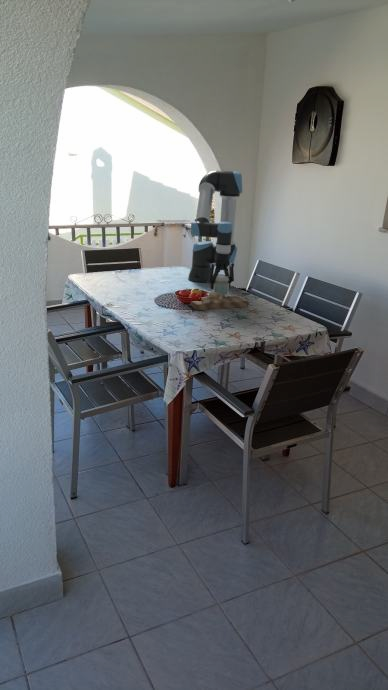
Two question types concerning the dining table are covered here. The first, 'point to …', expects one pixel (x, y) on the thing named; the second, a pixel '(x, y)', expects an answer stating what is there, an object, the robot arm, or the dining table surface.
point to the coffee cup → (221, 284)
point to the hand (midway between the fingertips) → (219, 294)
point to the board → (220, 303)
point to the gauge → (213, 297)
